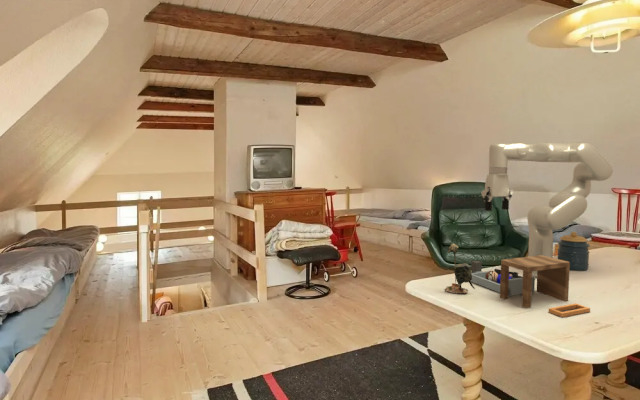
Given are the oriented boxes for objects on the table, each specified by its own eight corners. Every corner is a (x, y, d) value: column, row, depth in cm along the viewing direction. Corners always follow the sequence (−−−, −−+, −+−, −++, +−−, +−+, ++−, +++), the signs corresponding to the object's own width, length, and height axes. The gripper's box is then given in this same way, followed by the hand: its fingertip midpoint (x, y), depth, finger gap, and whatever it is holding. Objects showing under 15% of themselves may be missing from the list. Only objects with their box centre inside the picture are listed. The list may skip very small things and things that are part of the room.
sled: (485, 274, 174) (485, 259, 174) (534, 291, 150) (534, 274, 150) (461, 277, 170) (462, 262, 169) (508, 295, 146) (508, 278, 145)
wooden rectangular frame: (575, 307, 134) (575, 303, 134) (589, 312, 130) (590, 308, 129) (548, 312, 130) (548, 308, 130) (562, 317, 125) (562, 313, 125)
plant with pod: (469, 297, 145) (470, 246, 144) (441, 291, 153) (442, 242, 151) (477, 292, 151) (478, 243, 149) (450, 286, 159) (450, 239, 157)
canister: (588, 266, 187) (589, 231, 186) (589, 272, 177) (590, 235, 175) (557, 263, 195) (558, 228, 193) (556, 268, 184) (557, 232, 182)
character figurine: (521, 295, 148) (483, 286, 160) (528, 289, 153) (491, 281, 164) (520, 275, 147) (483, 268, 159) (528, 270, 152) (491, 264, 163)
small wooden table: (539, 291, 152) (540, 255, 151) (568, 300, 141) (569, 262, 139) (499, 297, 145) (500, 259, 144) (526, 308, 134) (528, 267, 132)
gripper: (506, 171, 176) (505, 208, 177) (476, 171, 170) (475, 210, 171) (519, 171, 169) (518, 209, 170) (488, 172, 163) (487, 211, 164)
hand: (496, 209), depth 171 cm, fingers open, 9 cm apart
